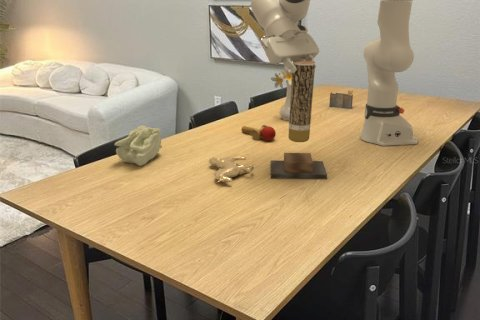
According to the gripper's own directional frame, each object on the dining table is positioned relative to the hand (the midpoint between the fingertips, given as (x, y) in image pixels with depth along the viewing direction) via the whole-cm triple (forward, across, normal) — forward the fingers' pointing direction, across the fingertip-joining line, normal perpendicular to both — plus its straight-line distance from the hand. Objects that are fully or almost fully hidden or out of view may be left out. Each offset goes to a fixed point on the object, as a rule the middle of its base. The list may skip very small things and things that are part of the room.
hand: (304, 70), depth 127 cm
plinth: (+24, 0, +24) cm, 34 cm away
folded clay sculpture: (-7, -33, +57) cm, 66 cm away
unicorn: (+13, -10, +33) cm, 37 cm away
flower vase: (-8, +45, +56) cm, 73 cm away
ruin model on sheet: (-6, +82, +54) cm, 99 cm away
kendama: (-2, +16, +50) cm, 53 cm away
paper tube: (+15, 0, +17) cm, 23 cm away
